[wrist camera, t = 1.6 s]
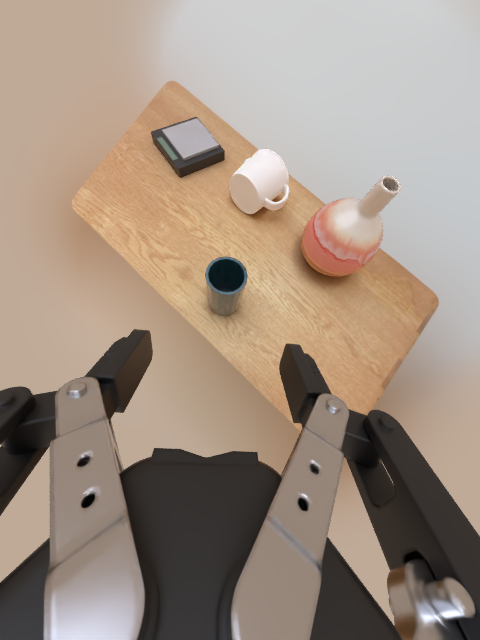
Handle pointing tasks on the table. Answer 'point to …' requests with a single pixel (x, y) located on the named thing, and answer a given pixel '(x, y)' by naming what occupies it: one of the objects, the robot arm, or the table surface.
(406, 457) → the robot arm
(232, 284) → the cup
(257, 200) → the mug
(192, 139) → the scale
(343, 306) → the table surface
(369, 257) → the vase
